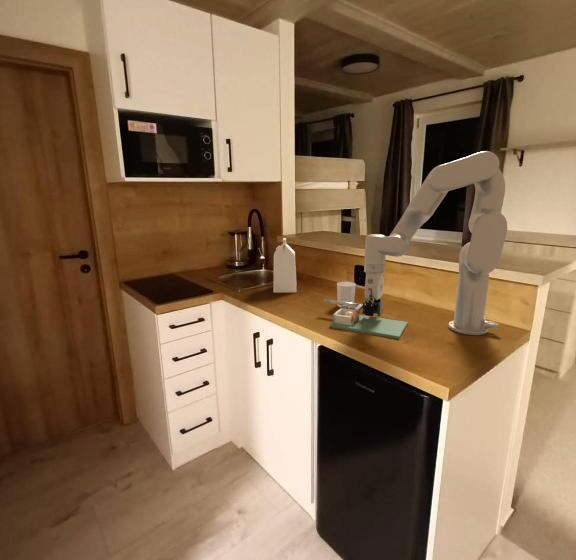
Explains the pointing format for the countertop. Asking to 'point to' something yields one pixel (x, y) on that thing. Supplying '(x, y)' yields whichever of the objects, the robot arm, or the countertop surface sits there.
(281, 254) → the milk
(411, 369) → the countertop surface
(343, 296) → the white cup
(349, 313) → the ball
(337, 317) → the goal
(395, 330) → the board
